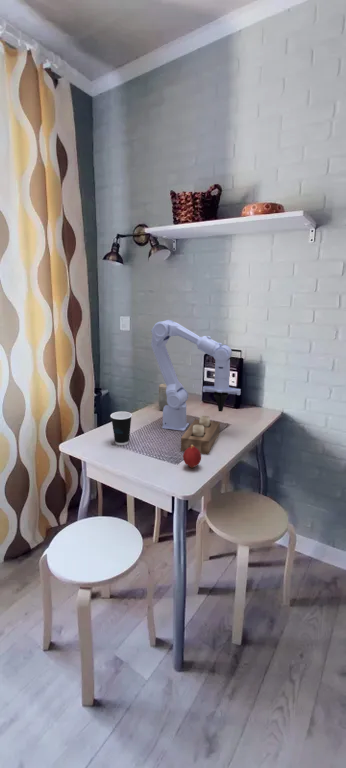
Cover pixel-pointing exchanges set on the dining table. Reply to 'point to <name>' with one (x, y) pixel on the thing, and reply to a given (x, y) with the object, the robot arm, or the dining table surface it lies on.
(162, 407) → the carving
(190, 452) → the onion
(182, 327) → the robot arm
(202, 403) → the dining table surface
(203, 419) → the peg back
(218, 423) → the walnut block
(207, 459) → the dining table surface
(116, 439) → the dixie cup
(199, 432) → the peg front
